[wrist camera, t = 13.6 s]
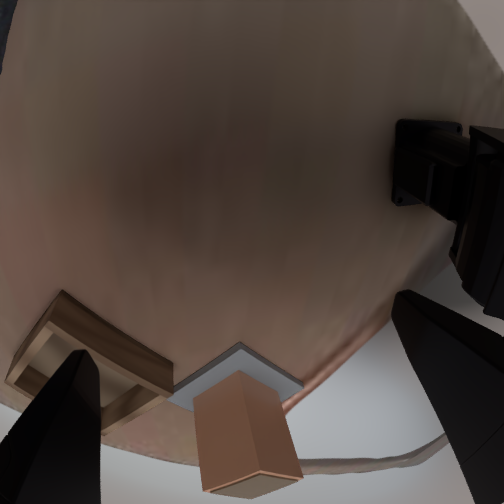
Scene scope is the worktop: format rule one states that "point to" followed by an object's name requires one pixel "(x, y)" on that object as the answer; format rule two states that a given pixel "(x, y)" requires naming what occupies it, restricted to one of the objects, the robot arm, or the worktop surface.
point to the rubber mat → (227, 365)
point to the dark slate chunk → (5, 24)
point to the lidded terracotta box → (243, 439)
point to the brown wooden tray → (104, 355)
